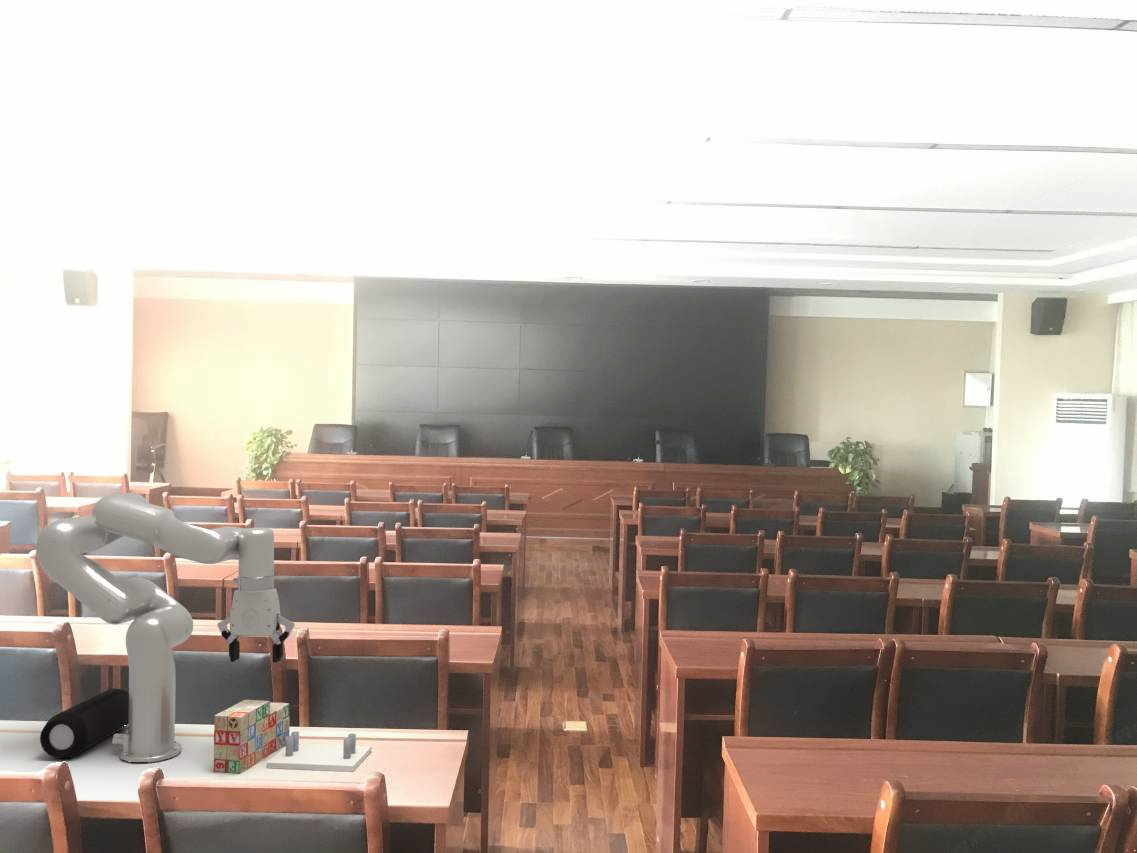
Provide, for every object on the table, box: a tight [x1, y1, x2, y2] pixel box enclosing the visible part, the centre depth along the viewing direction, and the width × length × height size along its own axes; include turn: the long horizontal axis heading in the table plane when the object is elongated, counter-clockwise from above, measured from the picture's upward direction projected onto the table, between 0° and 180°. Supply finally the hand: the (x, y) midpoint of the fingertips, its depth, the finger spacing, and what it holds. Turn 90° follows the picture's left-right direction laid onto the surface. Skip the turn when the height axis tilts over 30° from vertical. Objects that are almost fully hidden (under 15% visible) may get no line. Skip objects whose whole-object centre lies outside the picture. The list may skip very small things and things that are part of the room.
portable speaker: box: [39, 688, 129, 759], centre depth 213 cm, size 26×10×10 cm, turn 177°
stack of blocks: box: [213, 699, 291, 775], centre depth 205 cm, size 21×6×12 cm, turn 169°
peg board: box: [266, 731, 372, 773], centre depth 203 cm, size 19×13×5 cm
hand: (255, 660), depth 205 cm, fingers open, 9 cm apart
